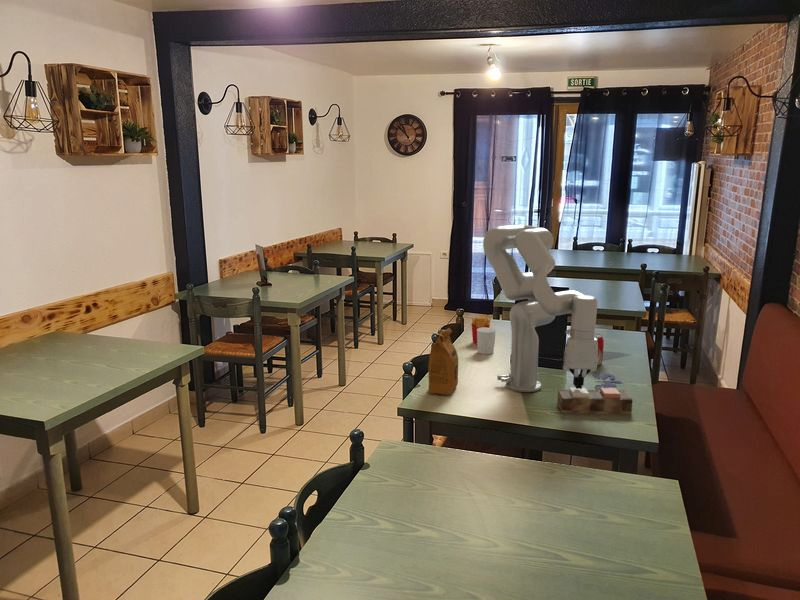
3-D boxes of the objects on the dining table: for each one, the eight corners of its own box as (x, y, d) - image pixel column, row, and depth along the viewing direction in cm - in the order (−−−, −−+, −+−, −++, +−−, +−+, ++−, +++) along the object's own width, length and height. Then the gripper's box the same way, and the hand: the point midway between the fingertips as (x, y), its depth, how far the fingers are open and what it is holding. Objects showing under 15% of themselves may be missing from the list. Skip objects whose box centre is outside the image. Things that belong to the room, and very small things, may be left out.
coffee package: (462, 386, 220) (463, 328, 215) (450, 398, 209) (451, 337, 204) (436, 382, 224) (437, 325, 219) (424, 394, 213) (424, 334, 208)
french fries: (470, 343, 274) (471, 317, 271) (472, 340, 277) (472, 315, 275) (489, 344, 271) (489, 318, 269) (490, 342, 275) (491, 316, 272)
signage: (593, 372, 233) (620, 374, 231) (592, 374, 234) (620, 376, 231) (596, 399, 207) (627, 402, 204) (596, 401, 207) (627, 404, 204)
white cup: (473, 350, 263) (473, 328, 261) (489, 348, 265) (490, 326, 263) (481, 355, 256) (481, 333, 254) (498, 354, 258) (498, 331, 256)
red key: (603, 404, 197) (604, 393, 196) (599, 398, 201) (600, 387, 201) (619, 404, 196) (620, 393, 195) (614, 399, 201) (615, 388, 200)
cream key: (572, 404, 197) (573, 393, 196) (569, 398, 202) (569, 387, 201) (588, 404, 197) (588, 393, 196) (584, 398, 202) (585, 387, 201)
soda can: (604, 366, 241) (606, 337, 239) (586, 366, 242) (588, 337, 239) (599, 361, 248) (601, 332, 246) (581, 360, 248) (583, 332, 246)
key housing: (562, 413, 196) (563, 398, 195) (557, 403, 204) (558, 389, 203) (631, 414, 195) (632, 399, 194) (623, 404, 203) (624, 390, 202)
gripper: (561, 336, 191) (557, 391, 196) (609, 337, 190) (604, 392, 195) (556, 329, 198) (552, 382, 203) (602, 330, 198) (598, 383, 202)
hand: (578, 387), depth 199 cm, fingers closed
